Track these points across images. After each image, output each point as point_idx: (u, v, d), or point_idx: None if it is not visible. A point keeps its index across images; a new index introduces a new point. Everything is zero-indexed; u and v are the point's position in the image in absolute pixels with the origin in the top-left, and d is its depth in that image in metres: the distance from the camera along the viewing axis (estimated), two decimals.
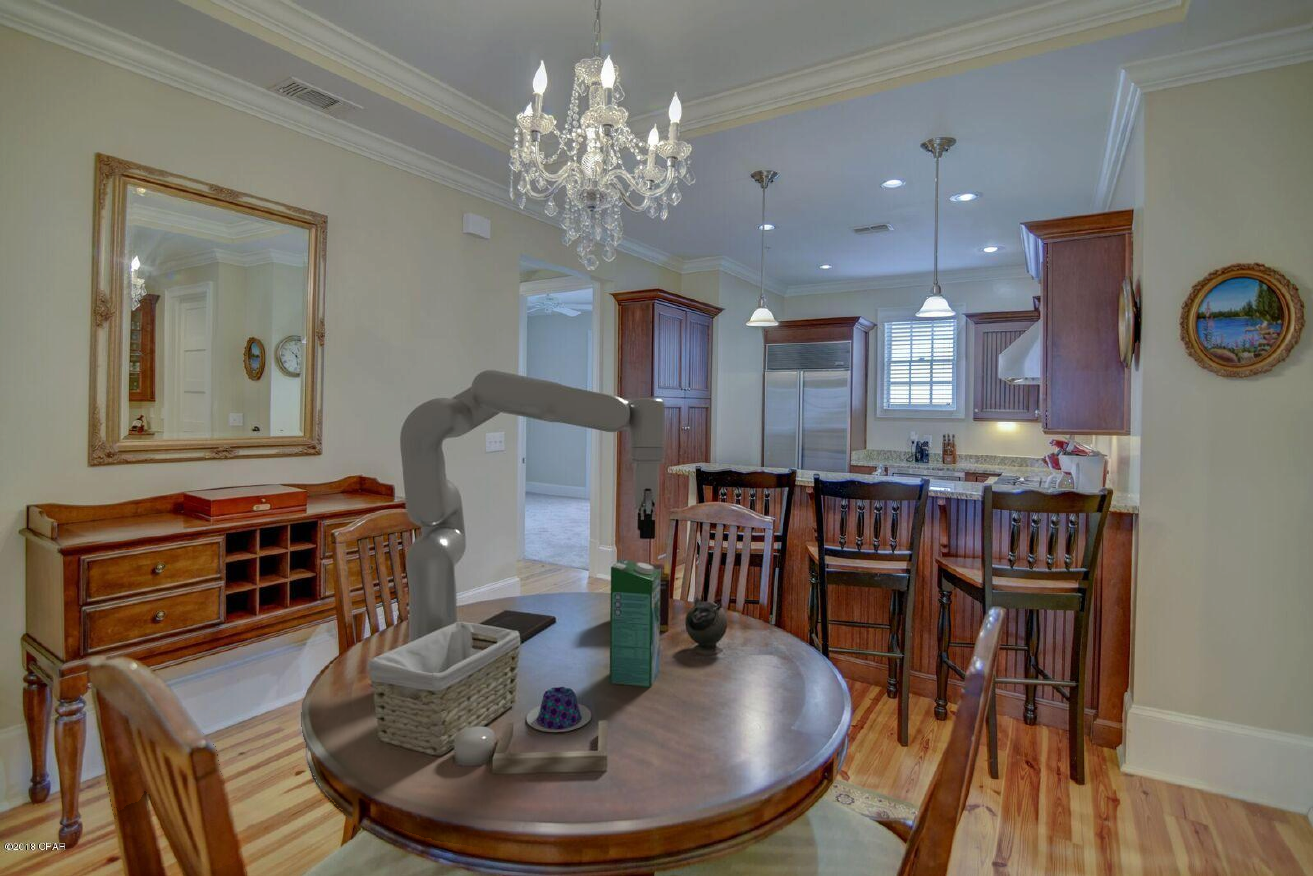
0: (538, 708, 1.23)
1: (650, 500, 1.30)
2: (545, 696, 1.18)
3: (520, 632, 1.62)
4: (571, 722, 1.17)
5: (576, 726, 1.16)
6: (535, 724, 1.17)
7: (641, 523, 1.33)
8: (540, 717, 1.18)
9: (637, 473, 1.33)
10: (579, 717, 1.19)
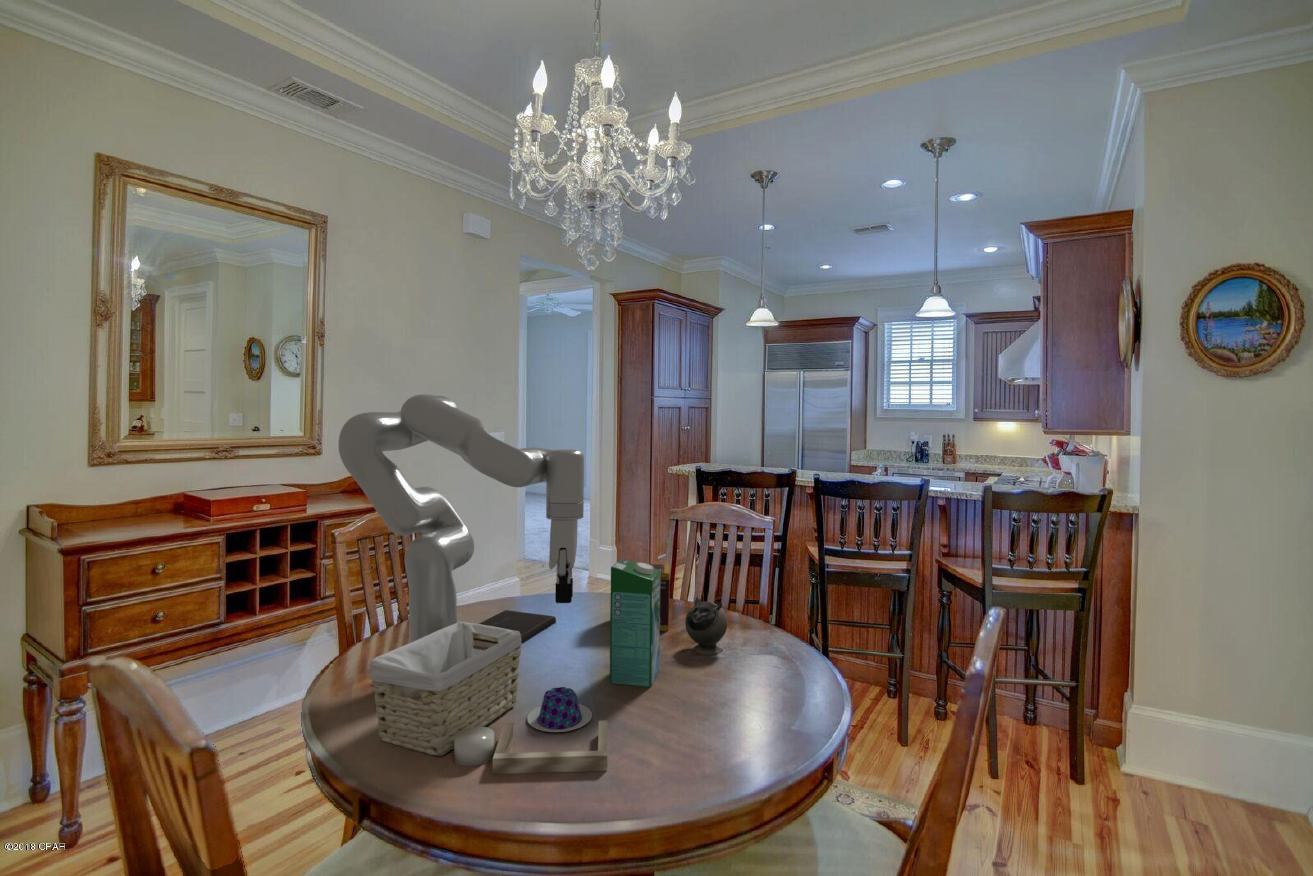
0: (539, 708, 1.23)
1: (563, 572, 1.24)
2: (546, 696, 1.18)
3: (520, 632, 1.62)
4: (572, 722, 1.17)
5: (577, 726, 1.16)
6: (536, 724, 1.17)
7: (557, 587, 1.28)
8: (541, 717, 1.18)
9: (551, 531, 1.25)
10: (580, 717, 1.19)
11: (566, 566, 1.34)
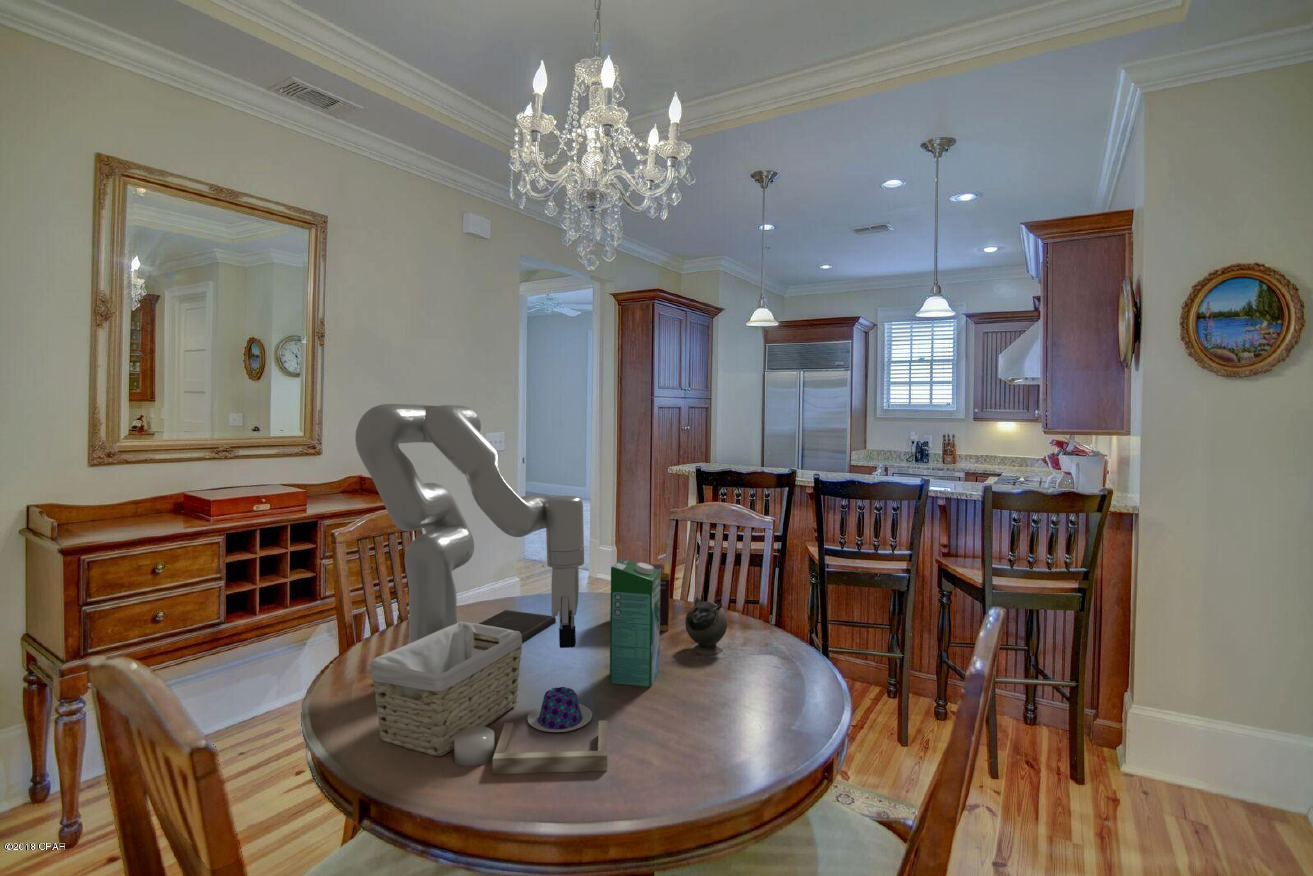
0: (539, 708, 1.23)
1: (566, 621, 1.25)
2: (546, 696, 1.18)
3: (520, 632, 1.62)
4: (572, 722, 1.17)
5: (577, 726, 1.16)
6: (536, 724, 1.17)
7: (560, 632, 1.30)
8: (541, 717, 1.17)
9: (553, 580, 1.26)
10: (580, 717, 1.19)
11: None
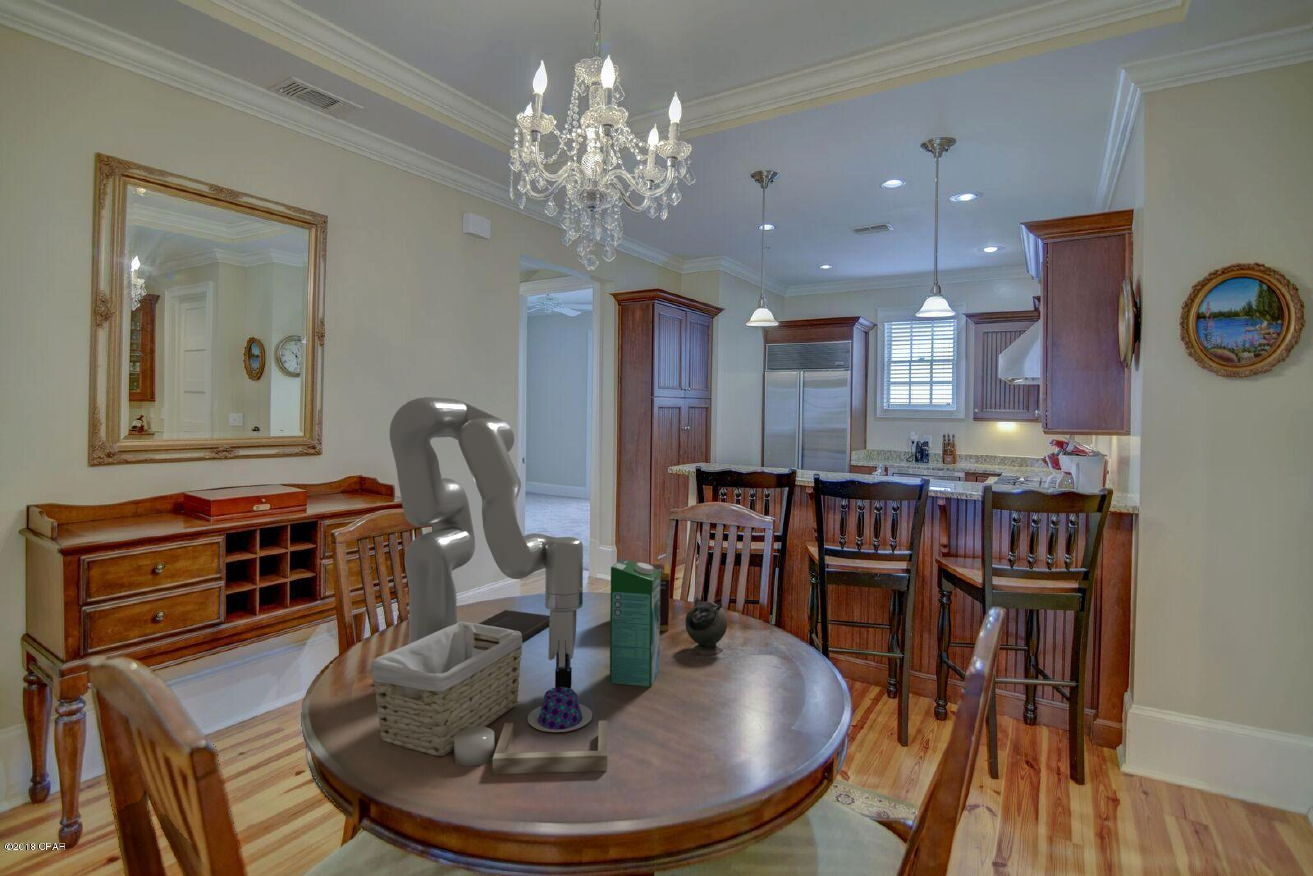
0: (539, 708, 1.23)
1: (563, 665, 1.25)
2: (546, 696, 1.18)
3: None
4: (572, 722, 1.17)
5: (577, 726, 1.16)
6: (536, 724, 1.17)
7: (556, 674, 1.29)
8: (541, 717, 1.17)
9: (551, 623, 1.25)
10: (580, 717, 1.19)
11: None
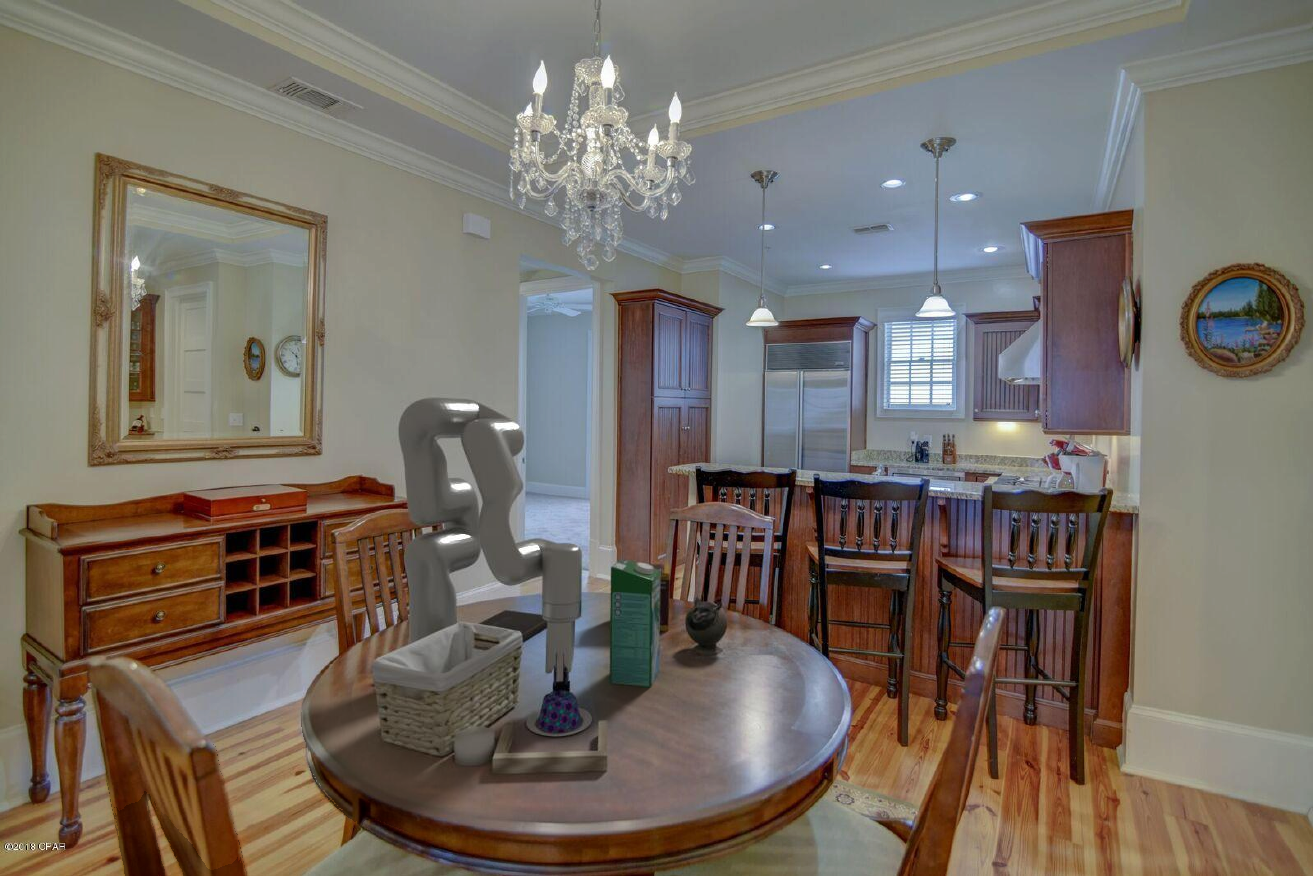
0: (538, 712, 1.21)
1: (561, 679, 1.18)
2: (545, 700, 1.17)
3: None
4: (572, 726, 1.16)
5: (577, 730, 1.15)
6: (535, 728, 1.16)
7: (554, 688, 1.23)
8: (540, 721, 1.16)
9: (548, 634, 1.18)
10: (579, 721, 1.18)
11: None
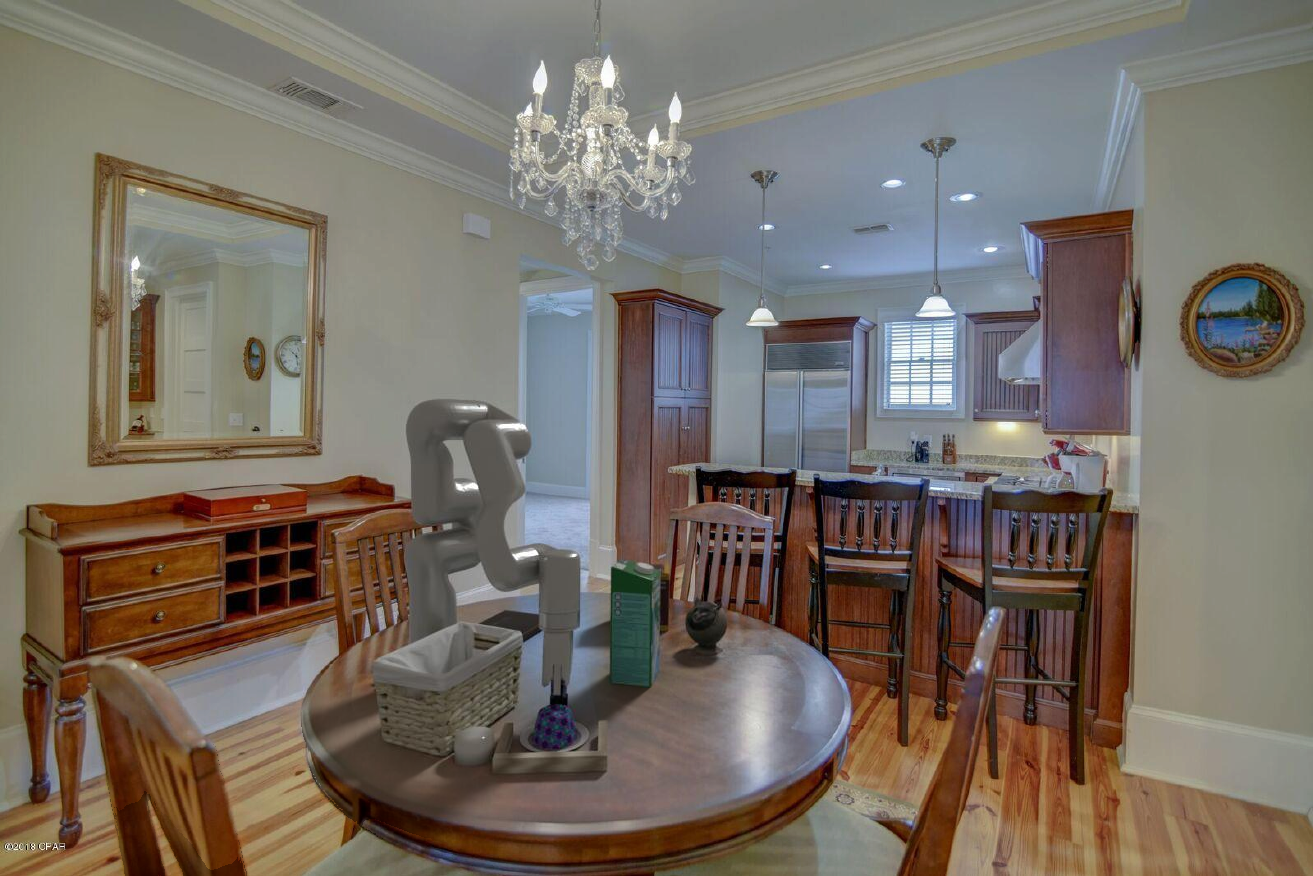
0: (533, 726, 1.16)
1: (558, 693, 1.12)
2: (539, 714, 1.11)
3: None
4: (567, 742, 1.10)
5: (572, 747, 1.09)
6: (529, 744, 1.10)
7: (551, 701, 1.17)
8: (534, 737, 1.11)
9: (545, 645, 1.13)
10: (576, 737, 1.12)
11: None
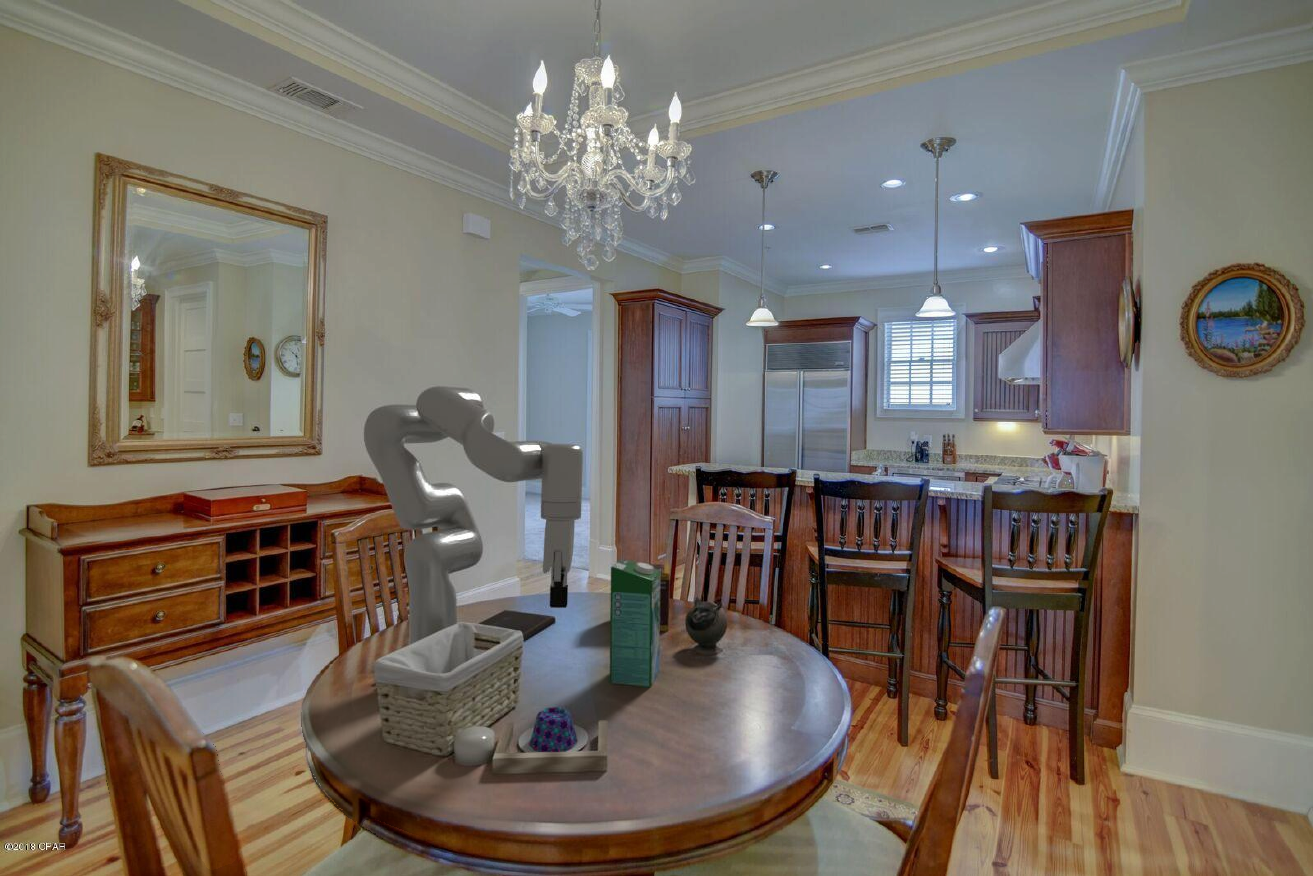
0: (531, 730, 1.14)
1: (559, 578, 1.15)
2: (539, 718, 1.10)
3: None
4: (567, 746, 1.08)
5: (572, 750, 1.08)
6: (528, 748, 1.08)
7: (551, 590, 1.20)
8: (533, 740, 1.09)
9: (546, 532, 1.15)
10: (575, 740, 1.11)
11: None
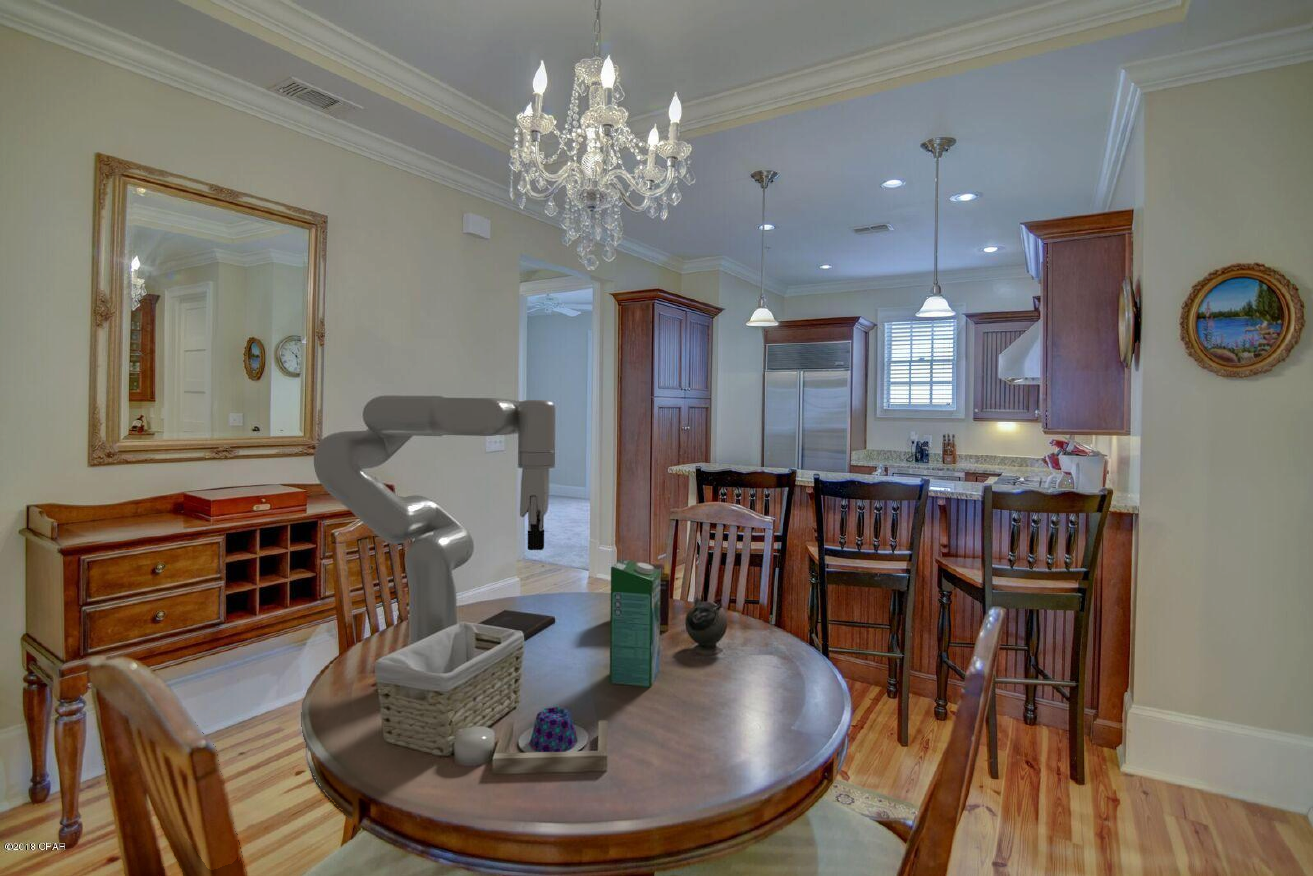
0: (529, 731, 1.14)
1: (534, 521, 1.26)
2: (539, 718, 1.09)
3: None
4: (568, 745, 1.09)
5: (574, 749, 1.08)
6: (529, 749, 1.08)
7: (529, 534, 1.31)
8: (534, 741, 1.09)
9: (522, 479, 1.27)
10: (575, 739, 1.11)
11: None
